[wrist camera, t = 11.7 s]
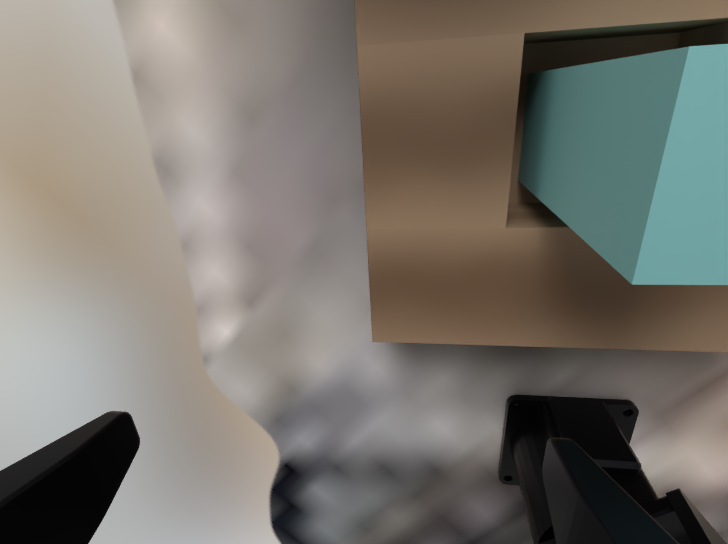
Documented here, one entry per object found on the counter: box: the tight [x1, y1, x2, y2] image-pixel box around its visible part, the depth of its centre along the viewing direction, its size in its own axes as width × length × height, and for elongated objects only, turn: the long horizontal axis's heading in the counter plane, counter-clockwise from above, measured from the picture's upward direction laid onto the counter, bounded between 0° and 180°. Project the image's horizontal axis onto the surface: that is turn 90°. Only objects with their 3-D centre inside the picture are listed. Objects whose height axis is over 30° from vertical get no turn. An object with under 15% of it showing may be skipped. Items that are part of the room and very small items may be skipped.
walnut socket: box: [355, 0, 728, 353], centre depth 14 cm, size 16×16×4 cm
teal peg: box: [518, 44, 728, 285], centre depth 11 cm, size 4×4×10 cm
